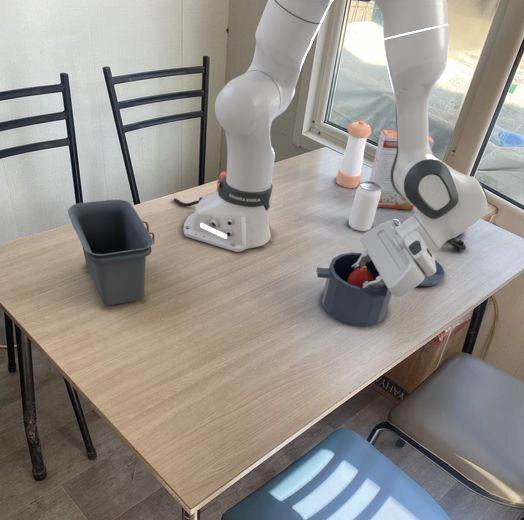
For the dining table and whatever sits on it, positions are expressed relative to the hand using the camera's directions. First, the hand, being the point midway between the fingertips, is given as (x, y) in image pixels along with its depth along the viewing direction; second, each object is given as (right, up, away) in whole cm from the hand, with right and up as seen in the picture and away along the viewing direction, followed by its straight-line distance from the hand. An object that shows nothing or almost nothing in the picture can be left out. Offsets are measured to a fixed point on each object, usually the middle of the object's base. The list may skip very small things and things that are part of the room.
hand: (358, 279), depth 116 cm
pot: (0, -5, +5) cm, 7 cm away
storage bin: (-53, 0, +2) cm, 53 cm away
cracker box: (+17, +29, +45) cm, 56 cm away
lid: (+17, +5, +19) cm, 26 cm away
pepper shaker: (+6, +38, +54) cm, 66 cm away
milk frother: (+31, +16, +34) cm, 49 cm away
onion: (0, -3, +3) cm, 5 cm away
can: (+6, +19, +33) cm, 39 cm away
